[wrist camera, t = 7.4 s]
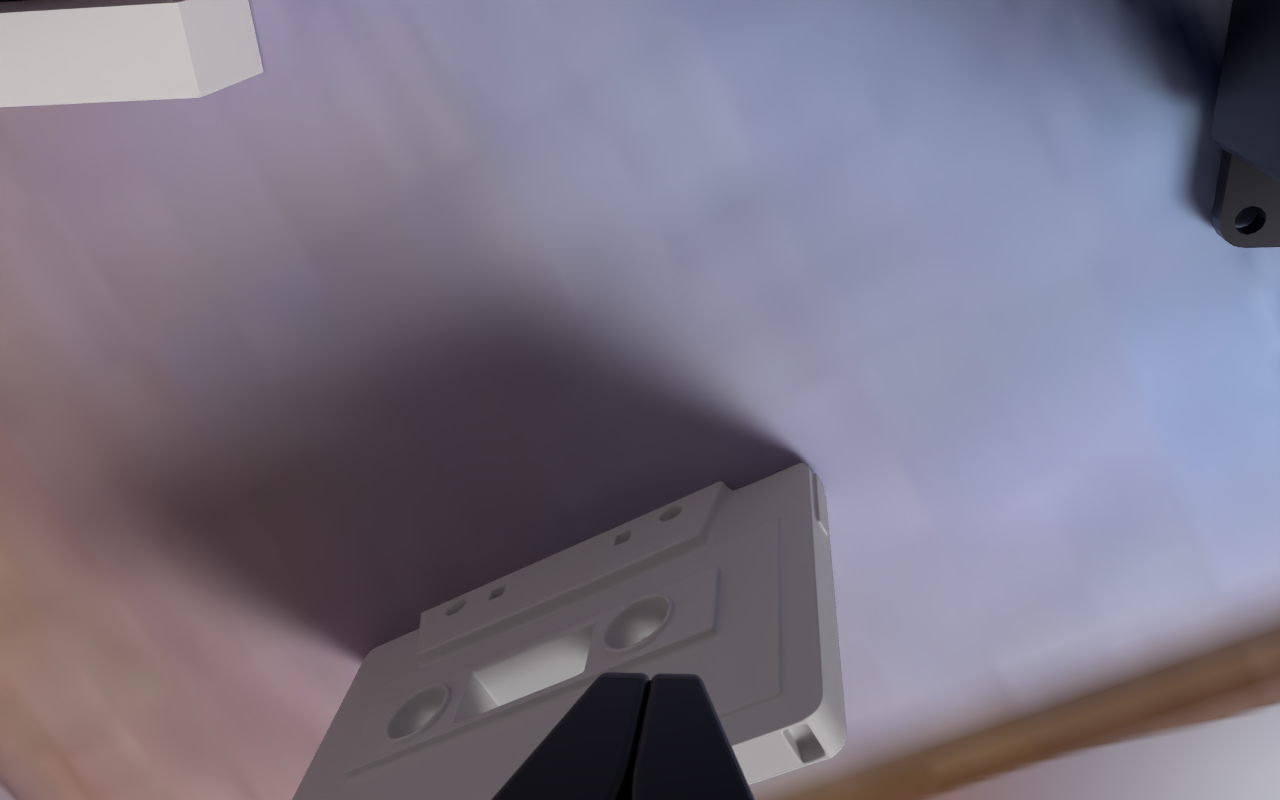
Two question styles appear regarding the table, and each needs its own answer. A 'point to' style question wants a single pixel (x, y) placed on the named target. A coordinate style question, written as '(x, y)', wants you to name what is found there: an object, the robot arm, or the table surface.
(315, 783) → the cassette
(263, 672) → the table surface
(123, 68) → the u rest
